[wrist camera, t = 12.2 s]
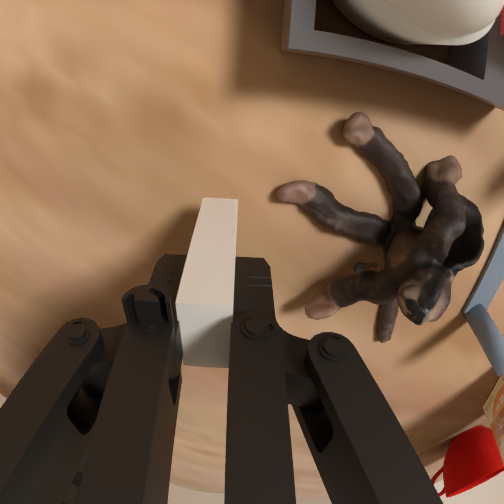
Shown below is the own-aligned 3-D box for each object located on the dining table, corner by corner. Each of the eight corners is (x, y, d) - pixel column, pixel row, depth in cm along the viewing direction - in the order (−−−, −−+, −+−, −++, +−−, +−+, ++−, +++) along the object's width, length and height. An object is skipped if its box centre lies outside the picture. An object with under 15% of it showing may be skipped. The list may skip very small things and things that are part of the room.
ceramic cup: (403, 461, 41) (413, 509, 33) (483, 412, 33) (502, 465, 25) (437, 460, 45) (447, 500, 37) (506, 416, 37) (522, 458, 29)
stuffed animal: (414, 67, 11) (553, 293, 9) (400, 126, 20) (490, 264, 18) (213, 222, 15) (351, 426, 13) (275, 220, 24) (363, 351, 22)
